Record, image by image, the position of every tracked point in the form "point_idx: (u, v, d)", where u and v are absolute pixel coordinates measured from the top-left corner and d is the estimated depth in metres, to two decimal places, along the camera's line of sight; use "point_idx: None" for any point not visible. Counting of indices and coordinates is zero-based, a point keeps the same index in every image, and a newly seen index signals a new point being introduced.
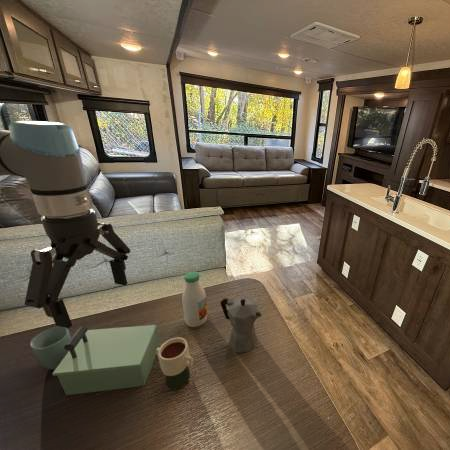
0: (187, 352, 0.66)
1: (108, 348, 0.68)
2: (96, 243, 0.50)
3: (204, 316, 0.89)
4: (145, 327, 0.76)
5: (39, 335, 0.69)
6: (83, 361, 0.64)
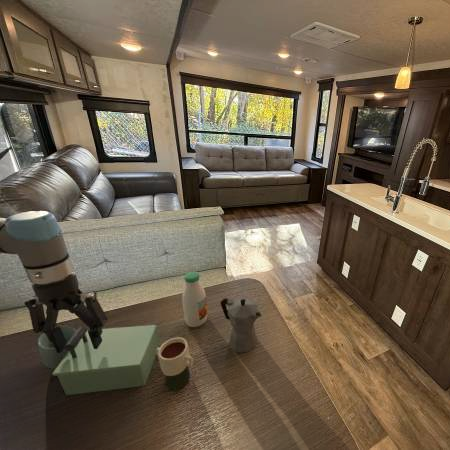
0: (187, 352, 0.66)
1: (108, 348, 0.68)
2: (67, 305, 0.59)
3: (204, 316, 0.89)
4: (145, 327, 0.76)
5: None
6: (83, 361, 0.64)
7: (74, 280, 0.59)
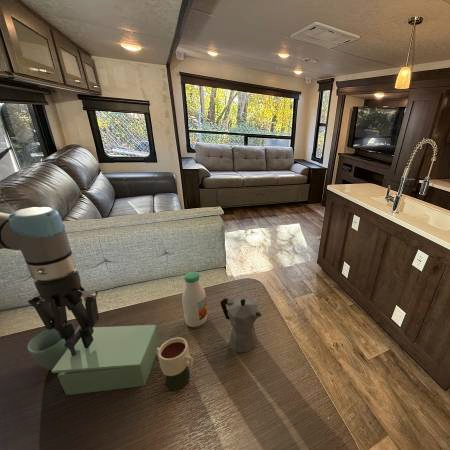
0: (187, 352, 0.66)
1: (108, 346, 0.68)
2: (69, 302, 0.59)
3: (204, 316, 0.89)
4: (145, 327, 0.76)
5: (37, 336, 0.68)
6: (82, 359, 0.64)
7: (77, 276, 0.59)
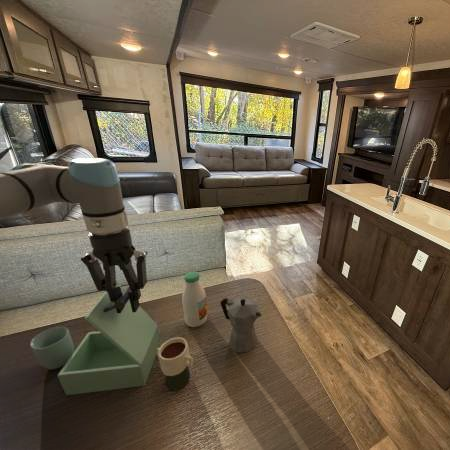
0: (187, 352, 0.66)
1: (126, 322, 0.66)
2: (121, 260, 0.58)
3: (204, 316, 0.89)
4: (151, 321, 0.75)
5: (41, 334, 0.69)
6: (109, 323, 0.61)
7: (129, 234, 0.58)
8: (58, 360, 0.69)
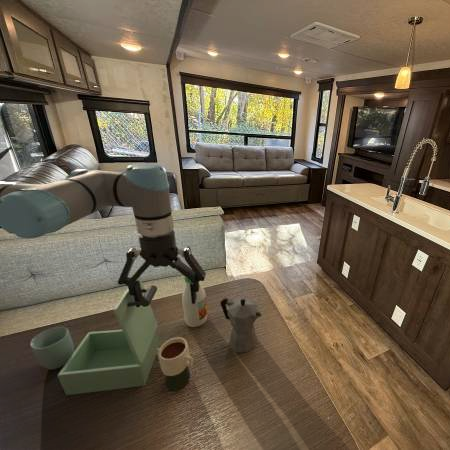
0: (187, 352, 0.66)
1: (139, 319, 0.67)
2: (167, 261, 0.60)
3: (204, 316, 0.89)
4: (154, 320, 0.75)
5: (41, 334, 0.69)
6: (128, 318, 0.62)
7: (174, 236, 0.60)
8: (58, 360, 0.69)
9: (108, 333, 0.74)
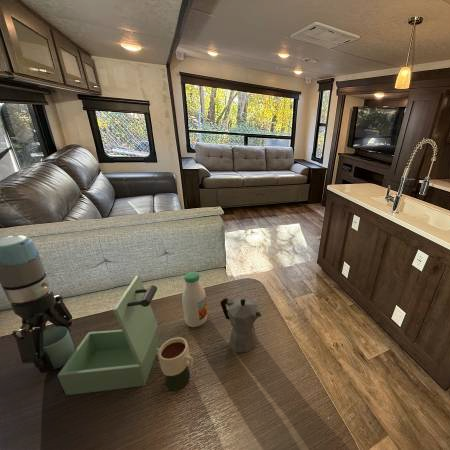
0: (187, 352, 0.66)
1: (139, 319, 0.66)
2: (54, 310, 0.68)
3: (204, 316, 0.89)
4: (154, 320, 0.75)
5: None
6: (128, 318, 0.62)
7: None
8: (58, 360, 0.69)
9: (108, 333, 0.74)
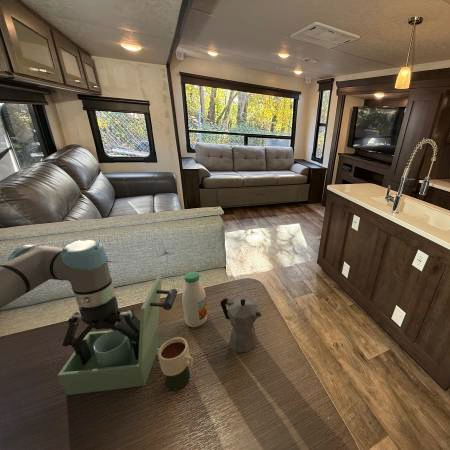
0: (187, 352, 0.66)
1: (151, 319, 0.67)
2: (108, 325, 0.64)
3: (204, 316, 0.89)
4: (157, 321, 0.75)
5: None
6: (147, 317, 0.63)
7: (115, 301, 0.64)
8: None
9: None
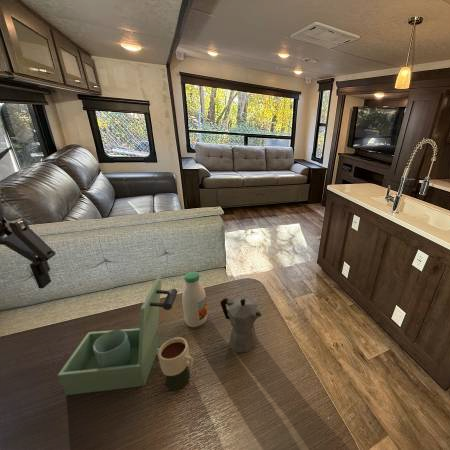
0: (187, 352, 0.66)
1: (151, 319, 0.67)
2: None
3: (204, 316, 0.89)
4: (157, 321, 0.75)
5: (121, 332, 0.71)
6: (147, 317, 0.63)
7: None
8: None
9: None
